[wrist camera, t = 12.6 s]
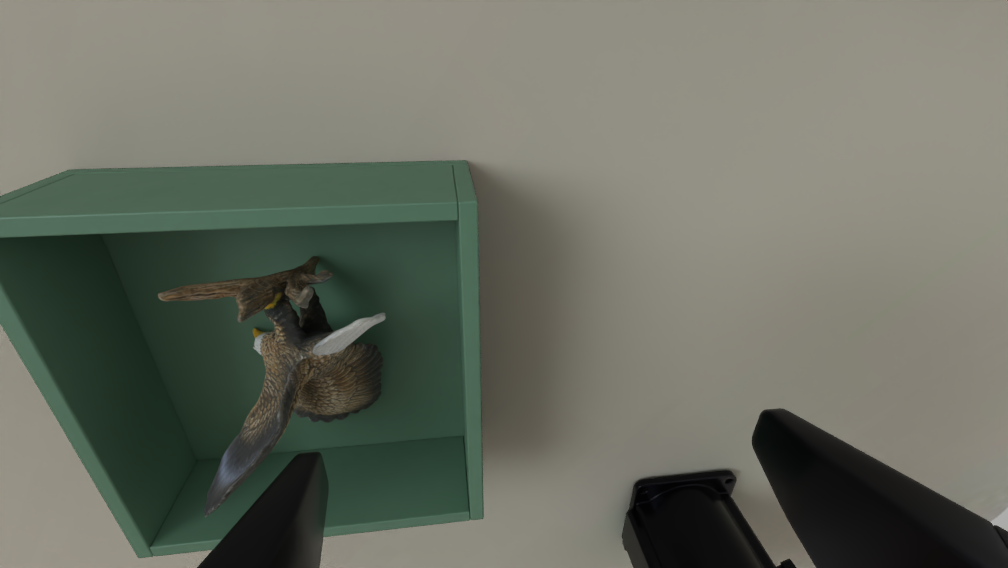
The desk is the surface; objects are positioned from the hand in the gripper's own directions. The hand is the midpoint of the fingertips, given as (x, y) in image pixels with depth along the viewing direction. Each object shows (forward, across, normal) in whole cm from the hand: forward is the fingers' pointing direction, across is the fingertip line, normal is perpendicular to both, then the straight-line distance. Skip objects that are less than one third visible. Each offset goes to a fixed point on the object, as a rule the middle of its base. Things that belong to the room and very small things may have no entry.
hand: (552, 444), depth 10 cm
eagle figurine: (+12, +8, +5) cm, 15 cm away
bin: (+12, +8, +4) cm, 15 cm away
